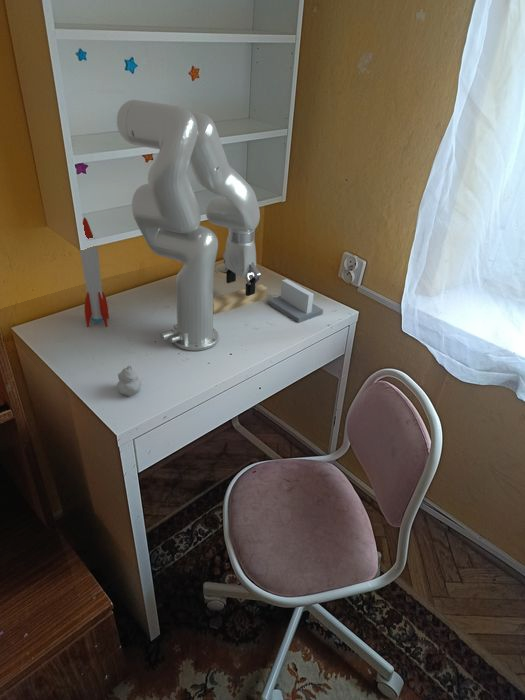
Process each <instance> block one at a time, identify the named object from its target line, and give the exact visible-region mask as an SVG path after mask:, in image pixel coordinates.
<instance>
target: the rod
mask: <svg viewBox="0 0 525 700" xmlns="http://www.w3.org/2000/svg"><path fill="white" fill-rule="evenodd" d="M267 295H268V287H266V286H264V285H263V284H258V285H255V294H252V295H250V296H246V288H243V289H241V290H237V291H232V292H229V293H226V294H223V295H219V296H216V297H215V296H214V297H213V315H216V314H220V313H223V312H226V311H229V310H233V309H236V308H239V307H243V306H247V305H249V304H253V303H255V302H259V301H262V300H266V299H267Z"/></svg>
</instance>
